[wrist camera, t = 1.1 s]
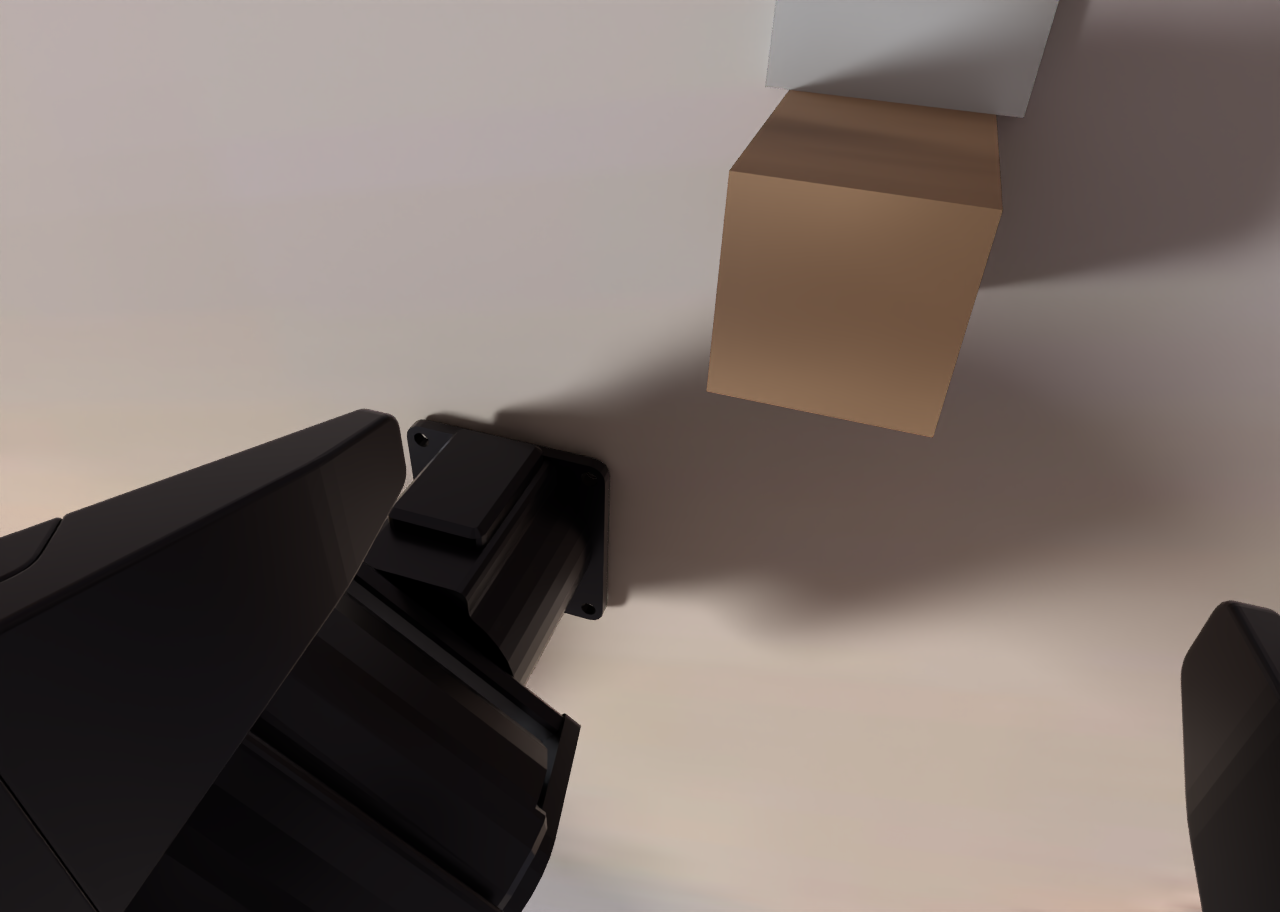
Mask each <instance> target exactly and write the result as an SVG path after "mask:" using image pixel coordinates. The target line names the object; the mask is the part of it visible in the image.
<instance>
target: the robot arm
mask: <svg viewBox="0 0 1280 912" xmlns="http://www.w3.org/2000/svg"><path fill="white" fill-rule="evenodd" d="M422 434H423V435H425V436H426V437H427V438H428V439H426V438H425V437H424V436H423V435H422ZM407 440H408V446H409V453H410V459H411V466H412V472H413V479H414V480H413V482H412V483H411V484H410V485H409V486H408V487H407V488H406V490H405V491H404V492H403V493H402V494H401V495H400V496H399V494H400V492H401V490H402V488H403V486H404V483H405V478H406V464H405V458H404V452H403V446H402V440H401V434H400V428H399V424H398V421H397V420H396V418H395V417H394V416H392V415H391V414H388V413H383V412H379V411H374V410H370V409H359V410H356V411H353V412H351V413H348V414H345V415H342V416H339V417H337V418H334V419H331V420H328V421H325V422H323V423H320V424H317V425H314V426H312V427H309V428H306V429H303V430H300V431H298V432H295V433H292V434H289V435H286V436H284V437H281V438H278V439H275V440H272V441H270V442H267V443H264V444H261V445H258V446H256V447H253V448H250V449H247V450H244V451H242V452H239V453H236V454H233V455H231V456H228V457H225V458H222V459H219V460H217V461H214V462H211V463H208V464H205V465H203V466H200V467H197V468H194V469H191V470H189V471H186V472H183V473H180V474H177V475H175V476H172V477H169V478H166V479H163V480H161V481H158V482H155V483H152V484H150V485H147V486H144V487H141V488H138V489H136V490H133V491H130V492H127V493H124V494H122V495H119V496H116V497H113V498H110V499H108V500H105V501H102V502H99V503H96V504H94V505H91V506H88V507H85V508H82V509H80V510H77V511H74V512H71V513H69V514H66V515H65V516H64V517H63V519H61V518H54V519H51V520H48V521H46V522H43V523H40V524H37V525H35V526H32V527H29V528H26V529H24V530H21V531H18V532H15V533H12V534H9V535H6V536H3V537H0V912H522V910H523V909H524V907H525V905H526V904H527V902H528V901H529V899H530V898H531V896H532V894H533V892H534V890H535V889H536V887H537V885H538V883H539V881H540V879H541V877H542V875H543V873H544V870H545V868H546V866H547V863H548V861H549V859H550V856H551V852H552V849H553V846H554V842H555V839H556V834H557V830H558V825H559V821H560V816H561V812H562V808H563V803H564V799H565V794H566V790H567V785H568V781H569V777H570V772H571V768H572V763H573V759H574V755H575V750H576V746H577V741H578V737H579V732H580V728H581V725H579V724H578V723H577V722H575V721H574V720H573V719H572V718H570V717H569V716H568V715H566V714H562V715H561V714H560V713H558V712H557V711H556V710H555V709H553V708H552V707H551V706H550V705H548V704H547V703H546V702H544V701H543V700H542V699H541V698H539V697H538V696H537V695H535V694H534V693H533V692H532V691H530V690H529V689H528V688H526V687H525V685H526V683H527V681H528V679H529V677H530V675H531V674H532V672H533V670H534V668H535V666H536V664H537V662H538V660H539V659H540V657H541V655H542V653H543V651H544V649H545V647H546V645H547V644H548V642H549V640H550V638H551V636H552V634H553V632H554V630H555V628H556V627H557V625H558V623H559V621H560V619H561V617H562V615H563V613H567V614H571V615H575V616H578V617H582V618H585V619H590V620H596V619H599V618H600V617H602V614H603V612H604V610H605V608H606V605H607V572H608V531H609V489H610V474H609V470H608V468H607V467H606V465H605V464H604V463H602V462H601V461H599V460H597V459H594V458H590V457H586V456H582V455H577V454H573V453H569V452H564V451H560V450H556V449H551V448H547V447H543V446H538V445H534V444H529V443H525V442H521V441H516V440H512V439H508V438H503V437H499V436H495V435H490V434H486V433H482V432H477V431H473V430H469V429H464V428H460V427H456V426H451V425H447V424H443V423H438V422H434V421H429V420H418V421H416V422H415V423H414V424H413V425H412V426H411V427H410V429H409V430H408V432H407ZM587 473H591V474H593V475H594V476H595V477H596V478H597V479H594V478H591V477H590V476H589V475H588V474H587ZM398 496H399V497H398ZM397 498H398V499H397ZM387 516H388V517H387ZM589 604H590V605H589ZM591 605H592V606H591ZM1181 696H1182V721H1183V746H1184V771H1185V796H1186V810H1187V821H1188V828H1189V835H1190V842H1191V848H1192V854H1193V860H1194V866H1195V872H1196V878H1197V883H1198V889H1199V895H1200V901H1201V907H1202V912H1280V615H1279V614H1278V613H1276V612H1275V611H1273V610H1271V609H1268V608H1264V607H1260V606H1255V605H1251V604H1246V603H1242V602H1237V601H1225V602H1222V603H1221V604H1220V605H1218V606H1217V607H1216V609H1215V610H1214V611H1213V613H1212V614H1211V616H1210V617H1209V619H1208V620H1207V622H1206V624H1205V625H1204V627H1203V628H1202V630H1201V632H1200V633H1199V635H1198V636H1197V638H1196V639H1195V641H1194V643H1193V644H1192V646H1191V647H1190V649H1189V650H1188V652H1187V654H1186V656H1185V658H1184V661H1183V665H1182V670H1181Z"/></svg>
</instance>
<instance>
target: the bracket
mask: <svg viewBox="0 0 1280 912" xmlns="http://www.w3.org/2000/svg"><path fill="white" fill-rule="evenodd" d="M1058 3H1059V0H776V3H775V11H774V19H773V27H772V35H771V44H770V52H769V60H768V68H767V76H766V85H765V87H770V88H778V89H787V90H789V91H788V93H787V94H786V95H785V97H784V98H783V99H782V101H781V102H780V103H779V105H778V106H777V107H776V109H775V110H774V111H773V113H772V114H771V115H770V117H769V118H768V119H767V121H766V122H765V123H764V125H763V126H762V128H761V129H760V130H759V132H758V133H757V134H756V136H755V137H754V138H753V140H752V141H751V142H750V144H749V145H748V146H747V148H746V149H745V150H744V152H743V153H742V154H741V156H740V157H739V158H738V160H737V161H736V162H735V164H734V165H733V166H732V168H731V169H730V170H729V179H728V188H727V198H726V207H725V217H724V227H723V236H722V246H721V256H720V265H719V275H718V285H717V294H716V304H715V313H714V323H713V333H712V342H711V352H710V362H709V371H708V381H707V390H706V391H707V392H712V393H717V394H722V395H727V396H731V397H736V398H741V399H746V400H751V401H756V402H761V403H766V404H771V405H775V406H780V407H785V408H790V409H795V410H800V411H805V412H810V413H814V414H819V415H824V416H829V417H834V418H839V419H844V420H849V421H854V422H858V423H863V424H868V425H873V426H878V427H883V428H888V429H893V430H897V431H902V432H907V433H912V434H917V435H922V436H927V437H932V438H933V436H934V433H935V429H936V426H937V423H938V420H939V416H940V413H941V410H942V407H943V403H944V400H945V397H946V393H947V390H948V387H949V384H950V380H951V377H952V374H953V371H954V367H955V364H956V361H957V358H958V354H959V351H960V348H961V345H962V341H963V338H964V335H965V332H966V328H967V325H968V322H969V319H970V315H971V312H972V309H973V305H974V302H975V299H976V296H977V292H978V289H979V286H980V283H981V279H982V276H983V273H984V270H985V266H986V263H987V260H988V257H989V253H990V250H991V247H992V244H993V240H994V237H995V234H996V231H997V227H998V224H999V221H1000V217H1001V214H1002V211H1003V206H1002V192H1001V177H1000V162H999V148H998V133H997V119H996V115H1003V116H1011V117H1020V118H1024V115H1025V112H1026V109H1027V105H1028V102H1029V99H1030V95H1031V92H1032V89H1033V85H1034V82H1035V79H1036V75H1037V72H1038V69H1039V65H1040V62H1041V59H1042V56H1043V52H1044V49H1045V46H1046V42H1047V39H1048V36H1049V32H1050V29H1051V26H1052V22H1053V19H1054V16H1055V12H1056V9H1057V6H1058Z"/></svg>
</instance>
